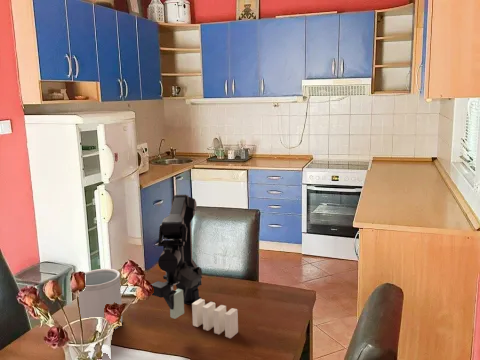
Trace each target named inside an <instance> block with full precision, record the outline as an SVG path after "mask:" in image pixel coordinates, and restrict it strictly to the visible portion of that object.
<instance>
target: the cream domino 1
mask: <svg viewBox="0 0 480 360" xmlns="http://www.w3.org/2000/svg"><path fill="white" fill-rule="evenodd" d="M204 305H206V301H205V299H202V298H201V299H199V300H197V301H195V302H194V303H192V304H191V312H192V314H191V315H192V327H193V326H194V327H196V328H198V327H200V326H201V325H203V308H202V307H203V306H204Z"/></svg>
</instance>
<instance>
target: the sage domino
mask: <svg viewBox="0 0 480 360" xmlns="http://www.w3.org/2000/svg"><path fill="white" fill-rule="evenodd" d="M174 291H177V292H176V293H175V294H174V309H173V310H172V309H170V308H169V314H170V315H169V316H170V318H171V319H175V320H176V319H177V318H179V317H180V316H182V315H184V314H185V303H184V296H183V290H182V289H177V288H176V290H174Z"/></svg>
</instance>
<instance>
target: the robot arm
mask: <svg viewBox="0 0 480 360" xmlns="http://www.w3.org/2000/svg"><path fill="white" fill-rule="evenodd" d="M172 196H173V197H172V199H171V206H170V207H171V208H170V212H169V215H168V216H166V217H164V218H163V220H162V222H161V224H159V230H158V231H159V233H158V244H157V246H158V247H163V251H162V252H161V254H160V256H159V257H158V261H157V264H158V267H159V269H160V270H162V271H163V272H165V274H164V275H162V277H163V278H162V279H163V280H165V281H164V282H163V281H161V280H160V281H158V280H157V281H155V282H153V283H151V284H150V285H152V286H153V288H154V293H153V294H152V295H151V296H154V297H158V298H159V299H160V298H163V299H164V301H165V303H166V304H167V306H168V307H169V310H170V309H172V310H173V309H174V294H175V293H176V292H177V291H175V290H174V287H176V290H177V289H182V290H183V296H184V304H187V305H190V306H192V303H194V302H195V301H197V300H199V299H202V297H201V296H200V293H199V291H200V290H199V287H200V286H202V279H203V269H202V268H201V267H199V266H198V265H197V263H196V261H194V259H193V240H192V239H193V237H192V220H193V219H194V217H195V215H196V212H197V201H196V199H195V198H193V197H190V196H189V195H188V194H175V195H172Z"/></svg>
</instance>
